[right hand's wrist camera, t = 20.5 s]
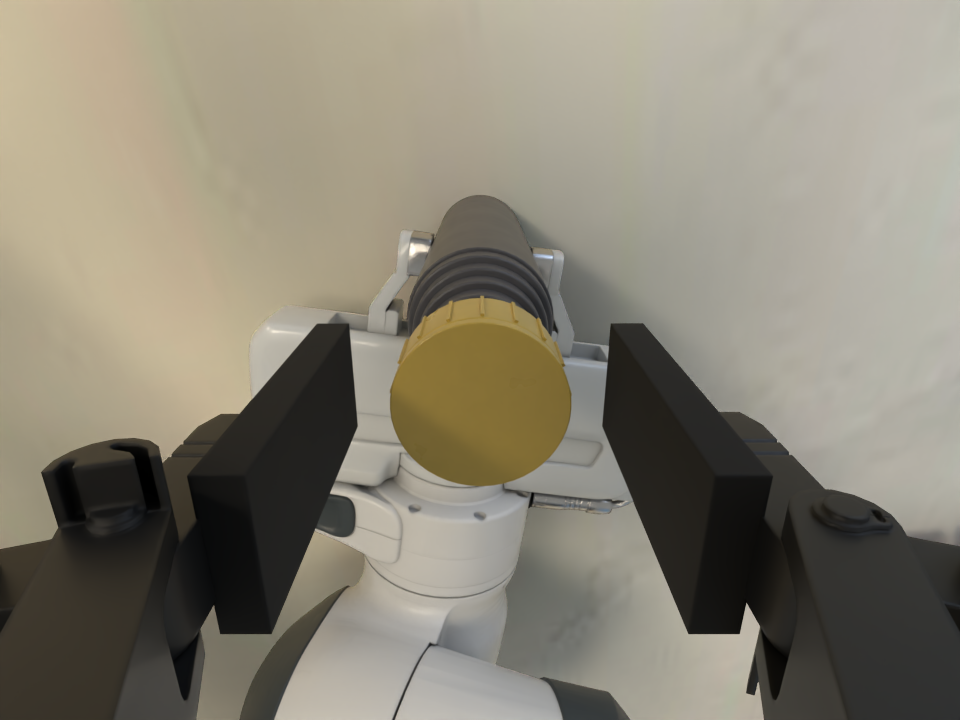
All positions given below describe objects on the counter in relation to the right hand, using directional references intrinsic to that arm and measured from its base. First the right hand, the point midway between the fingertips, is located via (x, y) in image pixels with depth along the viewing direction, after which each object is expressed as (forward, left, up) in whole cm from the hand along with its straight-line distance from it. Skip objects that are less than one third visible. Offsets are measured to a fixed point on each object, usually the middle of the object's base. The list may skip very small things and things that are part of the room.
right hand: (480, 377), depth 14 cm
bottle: (0, 0, -20) cm, 20 cm away
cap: (0, 0, +1) cm, 1 cm away
